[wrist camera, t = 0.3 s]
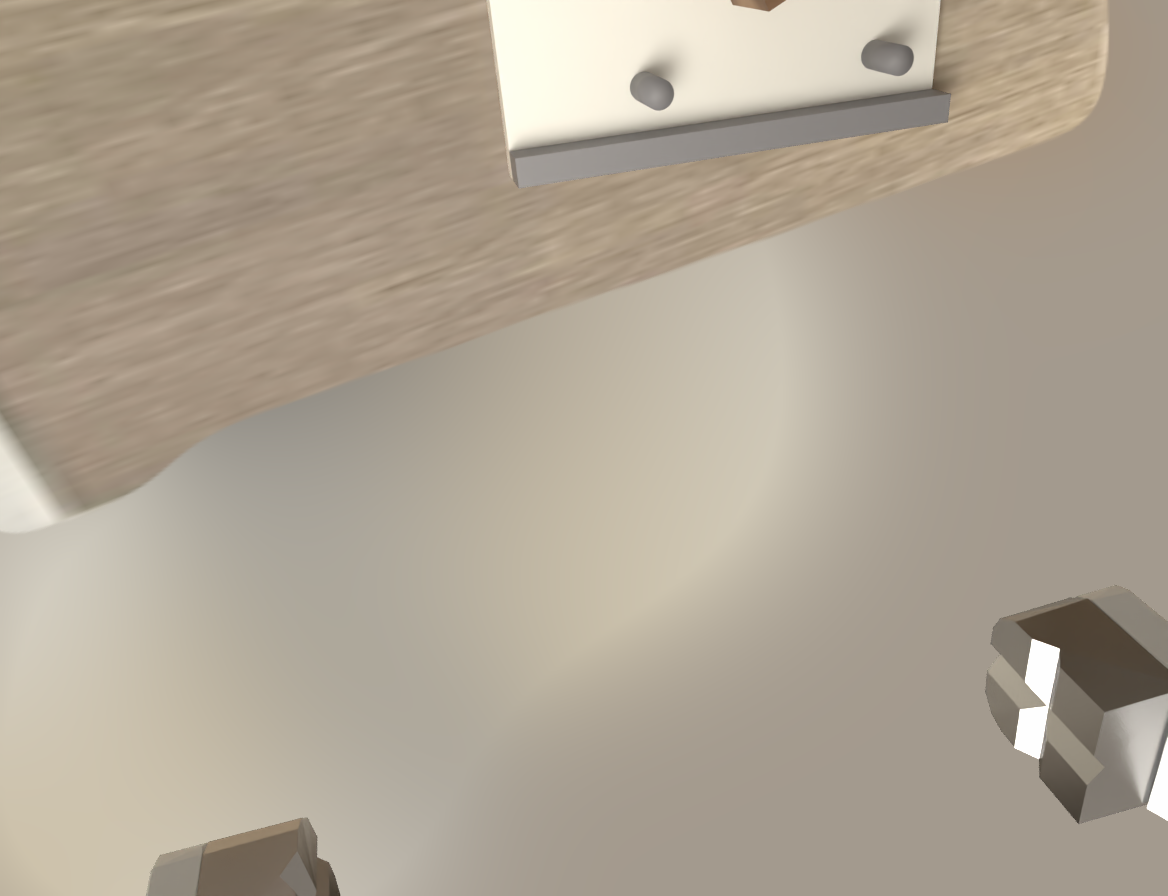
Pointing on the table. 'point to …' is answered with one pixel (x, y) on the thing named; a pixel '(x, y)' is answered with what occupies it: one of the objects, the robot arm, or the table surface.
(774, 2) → the wooden block
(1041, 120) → the table surface
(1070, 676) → the robot arm
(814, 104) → the board
